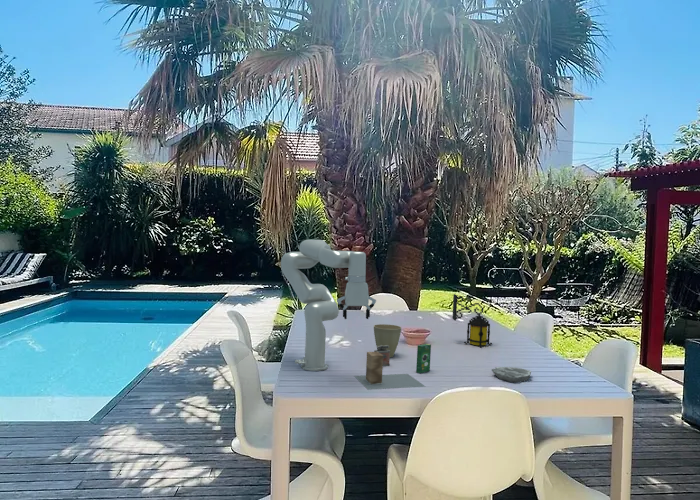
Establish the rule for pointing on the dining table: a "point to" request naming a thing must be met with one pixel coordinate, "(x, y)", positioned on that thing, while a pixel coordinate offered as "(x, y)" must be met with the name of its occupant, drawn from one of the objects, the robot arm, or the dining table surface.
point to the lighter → (384, 354)
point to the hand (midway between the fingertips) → (356, 318)
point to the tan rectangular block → (374, 367)
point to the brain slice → (512, 374)
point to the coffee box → (423, 358)
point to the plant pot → (387, 336)
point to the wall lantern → (474, 324)
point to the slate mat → (391, 382)
